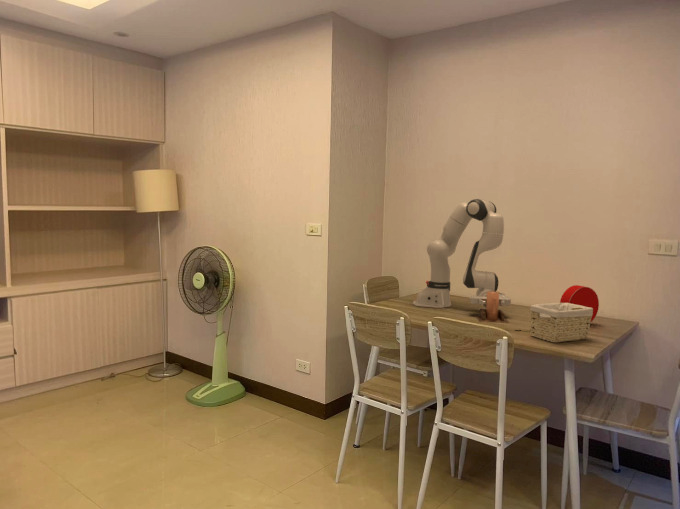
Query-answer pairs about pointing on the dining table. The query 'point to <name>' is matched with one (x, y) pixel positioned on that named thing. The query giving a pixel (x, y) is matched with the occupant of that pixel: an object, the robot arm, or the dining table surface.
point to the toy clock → (581, 298)
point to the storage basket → (560, 321)
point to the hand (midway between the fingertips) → (493, 303)
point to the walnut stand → (483, 319)
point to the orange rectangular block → (492, 305)
